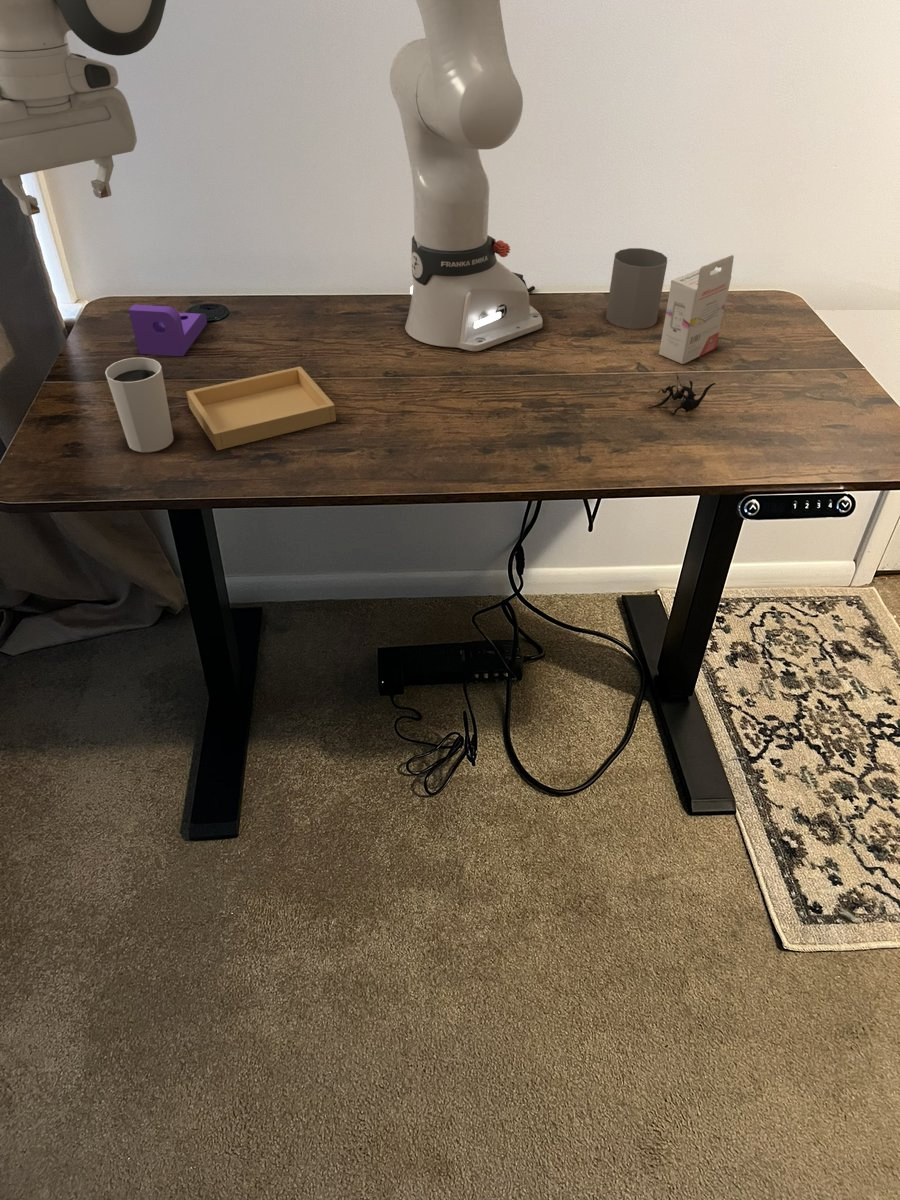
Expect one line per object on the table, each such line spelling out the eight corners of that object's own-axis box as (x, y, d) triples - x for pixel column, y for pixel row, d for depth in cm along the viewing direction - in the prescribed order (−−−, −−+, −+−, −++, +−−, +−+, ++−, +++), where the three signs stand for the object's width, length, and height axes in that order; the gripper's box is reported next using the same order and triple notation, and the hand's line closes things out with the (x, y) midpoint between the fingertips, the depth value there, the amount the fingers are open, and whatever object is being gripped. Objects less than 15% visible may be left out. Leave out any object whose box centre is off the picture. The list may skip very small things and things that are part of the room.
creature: (637, 410, 123) (673, 424, 116) (637, 372, 120) (675, 385, 114) (680, 398, 125) (719, 411, 119) (682, 361, 123) (721, 373, 116)
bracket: (182, 356, 131) (173, 312, 126) (138, 353, 131) (128, 310, 126) (207, 323, 139) (199, 281, 135) (165, 320, 140) (157, 278, 135)
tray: (302, 381, 125) (300, 365, 124) (336, 420, 117) (334, 404, 115) (189, 407, 119) (185, 391, 117) (216, 450, 111) (213, 434, 109)
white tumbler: (136, 425, 115) (118, 355, 109) (184, 429, 115) (169, 359, 108) (115, 451, 110) (95, 380, 104) (165, 456, 110) (148, 384, 103)
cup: (620, 303, 148) (629, 244, 141) (664, 316, 144) (676, 255, 138) (597, 320, 143) (605, 259, 136) (642, 333, 139) (652, 271, 132)
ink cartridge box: (690, 339, 138) (709, 245, 128) (715, 349, 135) (738, 254, 125) (656, 354, 134) (674, 258, 124) (682, 365, 131) (702, 268, 121)
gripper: (-48, 93, 89) (-3, 231, 98) (129, 66, 100) (154, 192, 110) (-73, 83, 92) (-28, 218, 101) (100, 59, 104) (127, 182, 113)
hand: (68, 204), depth 106 cm, fingers open, 8 cm apart
